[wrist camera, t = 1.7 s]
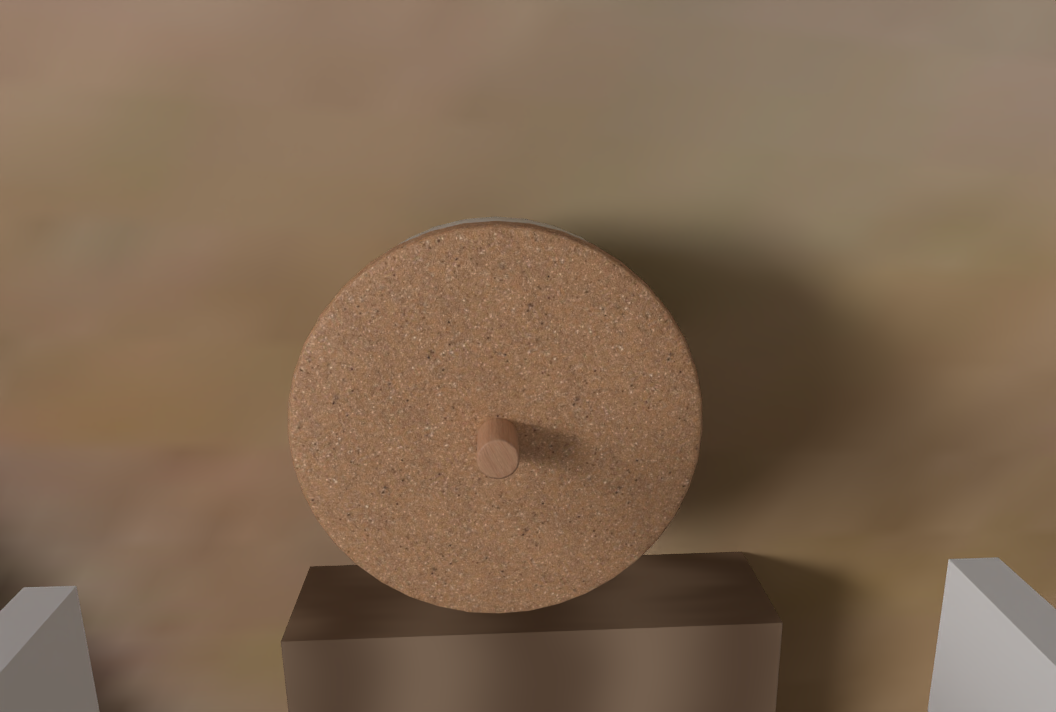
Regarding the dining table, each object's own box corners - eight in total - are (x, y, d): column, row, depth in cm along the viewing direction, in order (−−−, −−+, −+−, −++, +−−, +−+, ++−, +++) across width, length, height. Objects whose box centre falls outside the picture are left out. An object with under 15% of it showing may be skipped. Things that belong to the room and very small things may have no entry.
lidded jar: (567, 135, 27) (604, 148, 18) (699, 414, 30) (787, 542, 21) (278, 285, 28) (179, 367, 19) (432, 542, 31) (409, 717, 22)
